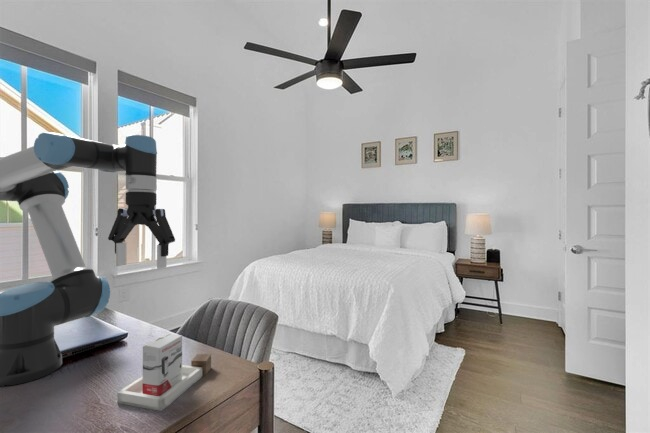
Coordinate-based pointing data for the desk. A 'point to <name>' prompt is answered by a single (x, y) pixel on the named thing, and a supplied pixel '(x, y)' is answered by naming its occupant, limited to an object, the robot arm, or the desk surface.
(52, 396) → the desk surface
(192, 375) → the parts tray
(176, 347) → the ink box
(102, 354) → the desk surface
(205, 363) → the block
